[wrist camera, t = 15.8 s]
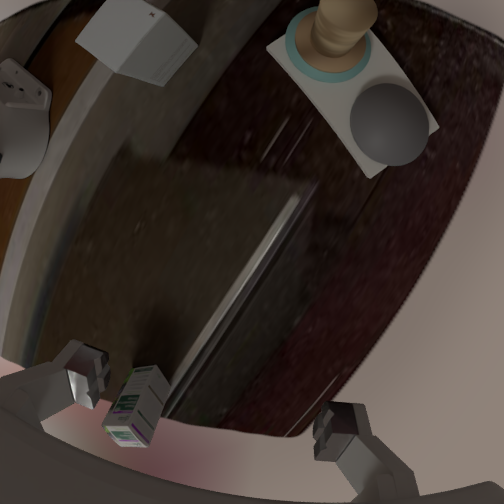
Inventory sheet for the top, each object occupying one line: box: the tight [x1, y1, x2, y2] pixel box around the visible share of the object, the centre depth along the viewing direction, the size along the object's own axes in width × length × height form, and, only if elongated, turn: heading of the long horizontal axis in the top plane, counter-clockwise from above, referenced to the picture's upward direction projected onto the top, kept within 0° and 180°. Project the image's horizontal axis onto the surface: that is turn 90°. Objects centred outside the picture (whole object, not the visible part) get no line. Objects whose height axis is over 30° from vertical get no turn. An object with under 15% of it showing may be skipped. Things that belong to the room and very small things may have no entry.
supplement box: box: [75, 0, 198, 87], centre depth 27 cm, size 7×7×13 cm
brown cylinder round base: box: [295, 0, 378, 73], centre depth 24 cm, size 8×8×11 cm
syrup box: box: [102, 365, 171, 447], centre depth 45 cm, size 6×6×14 cm
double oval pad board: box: [267, 6, 440, 178], centre depth 32 cm, size 22×12×3 cm, turn 39°
